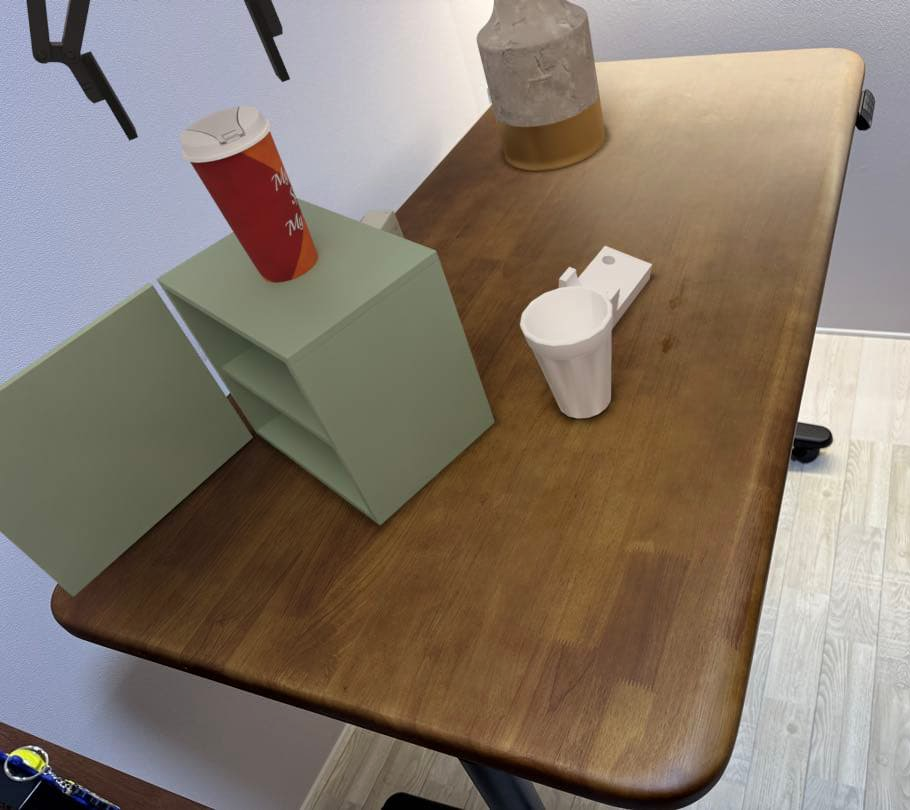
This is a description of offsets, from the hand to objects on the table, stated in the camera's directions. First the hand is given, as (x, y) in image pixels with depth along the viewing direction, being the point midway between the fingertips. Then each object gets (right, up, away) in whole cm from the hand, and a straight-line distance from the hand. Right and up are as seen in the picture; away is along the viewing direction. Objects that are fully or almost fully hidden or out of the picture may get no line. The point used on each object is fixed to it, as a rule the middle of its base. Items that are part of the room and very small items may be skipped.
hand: (209, 105), depth 68 cm
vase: (+31, +21, +73) cm, 82 cm away
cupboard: (+8, -29, +28) cm, 41 cm away
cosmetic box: (+8, -9, +48) cm, 50 cm away
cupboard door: (-18, -38, +26) cm, 49 cm away
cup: (+34, -26, +24) cm, 49 cm away
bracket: (+38, -13, +36) cm, 54 cm away
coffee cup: (+3, -12, +11) cm, 17 cm away
